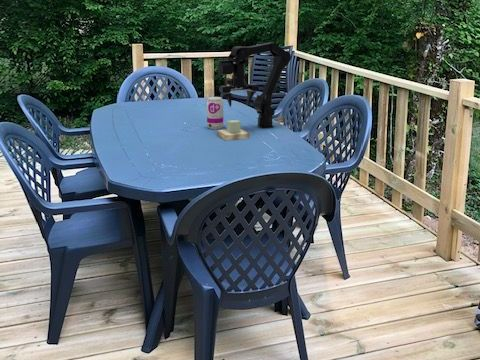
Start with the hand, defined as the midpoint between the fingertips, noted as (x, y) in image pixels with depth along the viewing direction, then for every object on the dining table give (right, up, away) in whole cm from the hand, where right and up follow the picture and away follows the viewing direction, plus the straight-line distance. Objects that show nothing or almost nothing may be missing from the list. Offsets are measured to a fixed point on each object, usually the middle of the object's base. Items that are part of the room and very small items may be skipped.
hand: (239, 106), depth 278 cm
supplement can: (-12, -10, +9) cm, 18 cm away
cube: (-3, -13, -10) cm, 17 cm away
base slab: (-3, -16, -10) cm, 19 cm away
